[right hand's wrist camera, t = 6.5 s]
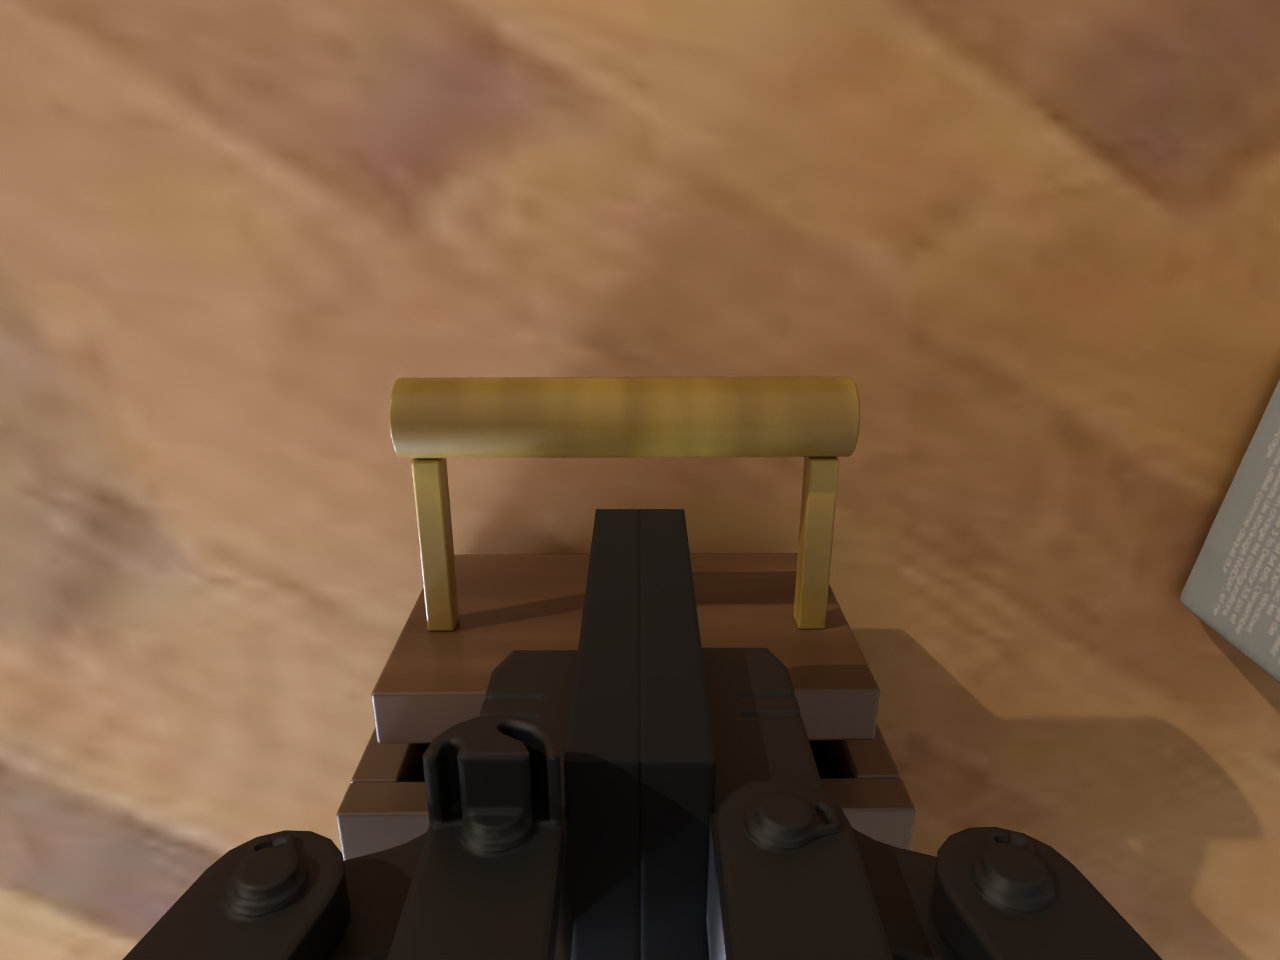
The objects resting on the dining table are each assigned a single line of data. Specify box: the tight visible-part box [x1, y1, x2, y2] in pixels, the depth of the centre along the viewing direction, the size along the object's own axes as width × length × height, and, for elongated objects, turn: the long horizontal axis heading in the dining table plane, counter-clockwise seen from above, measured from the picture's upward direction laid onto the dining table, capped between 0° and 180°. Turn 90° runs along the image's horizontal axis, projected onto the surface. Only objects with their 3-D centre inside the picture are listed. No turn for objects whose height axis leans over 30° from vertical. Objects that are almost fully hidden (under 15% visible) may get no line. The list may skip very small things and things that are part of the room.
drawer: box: [371, 377, 880, 744], centre depth 21 cm, size 23×10×6 cm, turn 0°
